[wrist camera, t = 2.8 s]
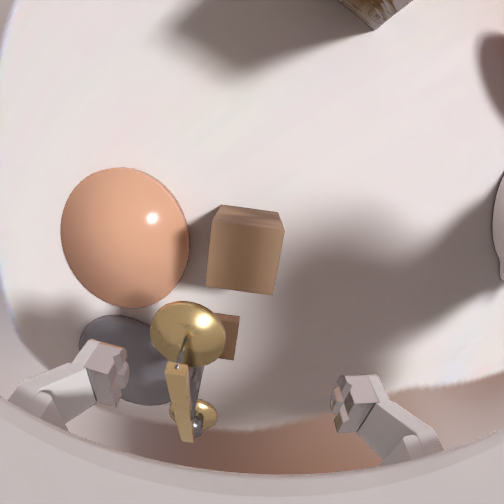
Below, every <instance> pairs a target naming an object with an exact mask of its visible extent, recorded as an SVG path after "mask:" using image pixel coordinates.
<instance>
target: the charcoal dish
mask: <svg viewBox="0 0 504 504" xmlns="http://www.w3.org/2000/svg"><path fill="white" fill-rule="evenodd" d="M90 339H93V340H96V341H100V342H104V343H108V344H111V345H115V346H118V347H122V348H125V349H126V351H127V358H126V360H125V361H126V362H127V363H128V365H129V379H128V383H127V385H126V387H125V388H123V389H121V394H122V396H121V399H123V400H126V401H128V402H132V403H135V404H140V405H149V406H154V405H161V404H165V403H168V402H170V401H171V399H170V395H169V391H168V386H167V382H166V377H165V369H166V366H167V362H168V361H169V362H172V361H170V360H168V359H167V358H165V357H164V356H163V355H162V354H161V353H160V352H159V351H158V350H157V349H156V347H155V346H154V344H153V342H152V340H151V336H150V326H148V325H146V324H144V323H142V322H140V321H138V320H135V319H132V318H129V317H125V316H119V315H108V316H103V317H99V318H97V319H95V320H94V321H92V322H91V323H90V324H89V325H88V326H87V327H86V329H85V330H84V331H83V333H82V335H81V337H80V341H79V351H81V349H82V348H83V346H84V345H85V344H86V342H87V341H88V340H90Z"/></svg>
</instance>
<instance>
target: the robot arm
mask: <svg viewBox="0 0 504 504" xmlns="http://www.w3.org/2000/svg"><path fill="white" fill-rule="evenodd" d="M493 241H494V246H495V250H496V252H497V255H498V257H499V261H500V277H501V279H502V280H504V176H503V178H502V180H501V183H500V186H499V188H498V192H497V195H496V200H495V205H494V212H493ZM126 358H127V351H126V349H125V348H122V347H118V346H115V345H111V344H108V343H104V342H100V341H96V340H93V339H90V340H88V341H87V342H86V344H85V345H84V346H83V348H82V349H81V351H80V352H79V353H78V355H77V356H76V357H75V359H74V360H73V361H72V363H65V364H63V365H61V366H58V367H56V368H53V369H51V370H48V371H46V372H44V373H41V374H39V375H36V376H34V377H32V378H29V379H26V380H24V381H22V382H21V384H20V385H19V386H18V387H17V389H16V390H15V391H14V393H13V394H12V395H11V397H10V398H9V400H8V401H7V400H6V399H4V398H3V397H1V396H0V504H504V429H499V430H496V431H494V432H492V433H490V434H487V435H485V436H482V437H480V438H478V439H475V440H473V441H470V442H467V443H465V444H462V445H459V446H456V447H453V448H450V449H447V450H445V451H444V449H443V447H442V445H441V443H440V441H439V439H438V437H437V435H436V433H435V431H434V429H432V428H431V427H429V426H428V425H427V424H425V423H424V422H422V421H420V420H419V419H418V418H416V417H415V416H414V415H412V414H411V413H409V412H408V411H406V410H405V409H404V408H402V407H401V406H399V405H398V404H397V403H395V402H391V401H390V399H389V397H388V395H387V393H386V391H385V388H384V386H383V384H382V382H381V380H380V378H379V376H378V375H377V374H365V375H341V376H340V377H339V380H338V387H337V388H336V389H334V390H333V393H332V395H331V401H330V403H331V410H332V412H333V413H334V414H335V415H336V417H335V419H334V422H335V426H336V430H337V433H348V432H357V434H358V435H359V436H360V437H361V438H362V439H363V440H364V441H365V442H366V443H367V444H368V445H369V446H370V447H371V448H372V449H373V450H374V451H375V453H376V454H377V455H378V456H379V457H380V458H381V459H382V460H383V462H382V463H381V464H380V465H379V466H378V467H374V468H367V469H361V470H353V471H345V472H335V473H323V474H304V475H264V474H244V473H233V472H223V471H214V470H206V469H200V468H193V467H187V466H182V465H176V464H171V463H166V462H162V461H158V460H153V459H149V458H145V457H141V456H138V455H134V454H130V453H127V452H124V451H120V450H117V449H113V448H111V447H108V446H105V445H102V444H99V443H96V442H93V441H91V440H88V439H86V438H83V437H80V436H78V435H75V434H73V433H71V432H69V431H68V429H67V427H66V425H65V423H67V422H68V421H70V420H71V419H73V418H74V417H76V416H77V415H79V414H80V413H82V412H83V411H85V410H86V409H88V408H89V407H91V406H92V405H94V404H95V403H97V402H100V403H103V404H107V405H110V406H114V407H117V404H118V402H119V400H120V398H121V396H122V394H121V389H123V388H125V387H126V385H127V383H128V379H129V365H128V363H127V362H126V361H125V360H126Z"/></svg>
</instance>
